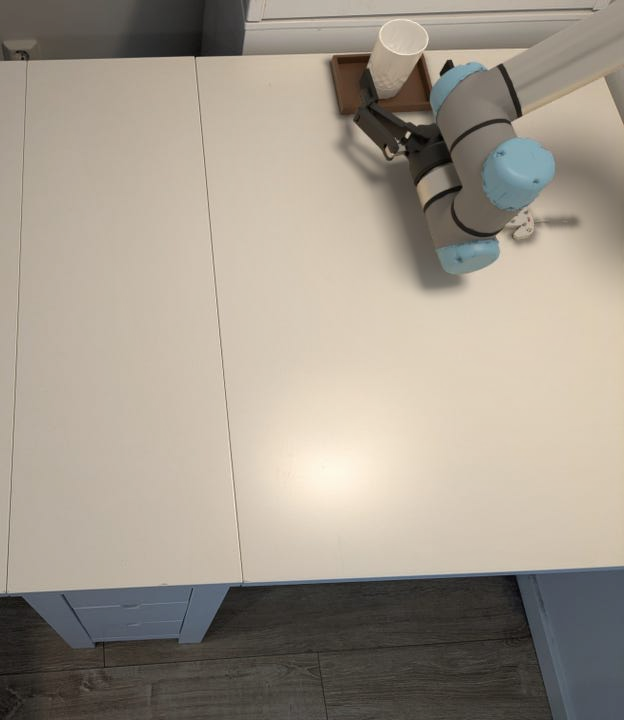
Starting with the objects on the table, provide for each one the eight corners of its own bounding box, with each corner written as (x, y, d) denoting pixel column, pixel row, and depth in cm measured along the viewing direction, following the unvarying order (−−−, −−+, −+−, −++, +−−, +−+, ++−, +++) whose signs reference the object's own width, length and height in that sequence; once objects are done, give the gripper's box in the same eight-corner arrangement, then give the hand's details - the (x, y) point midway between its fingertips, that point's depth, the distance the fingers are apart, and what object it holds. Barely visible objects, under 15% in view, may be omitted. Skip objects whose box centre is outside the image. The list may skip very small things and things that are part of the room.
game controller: (489, 217, 91) (498, 207, 89) (550, 196, 92) (561, 186, 90) (508, 245, 89) (518, 236, 87) (570, 224, 90) (582, 215, 88)
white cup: (400, 106, 98) (425, 58, 89) (355, 97, 99) (376, 49, 90) (405, 73, 101) (431, 23, 91) (362, 65, 101) (382, 14, 92)
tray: (329, 65, 103) (333, 54, 100) (417, 61, 102) (422, 50, 100) (339, 117, 99) (343, 108, 96) (430, 113, 98) (437, 103, 96)
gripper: (352, 200, 88) (323, 96, 95) (507, 183, 88) (467, 81, 95) (369, 169, 81) (336, 59, 88) (538, 151, 81) (491, 43, 88)
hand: (404, 70), depth 91 cm, fingers open, 13 cm apart
